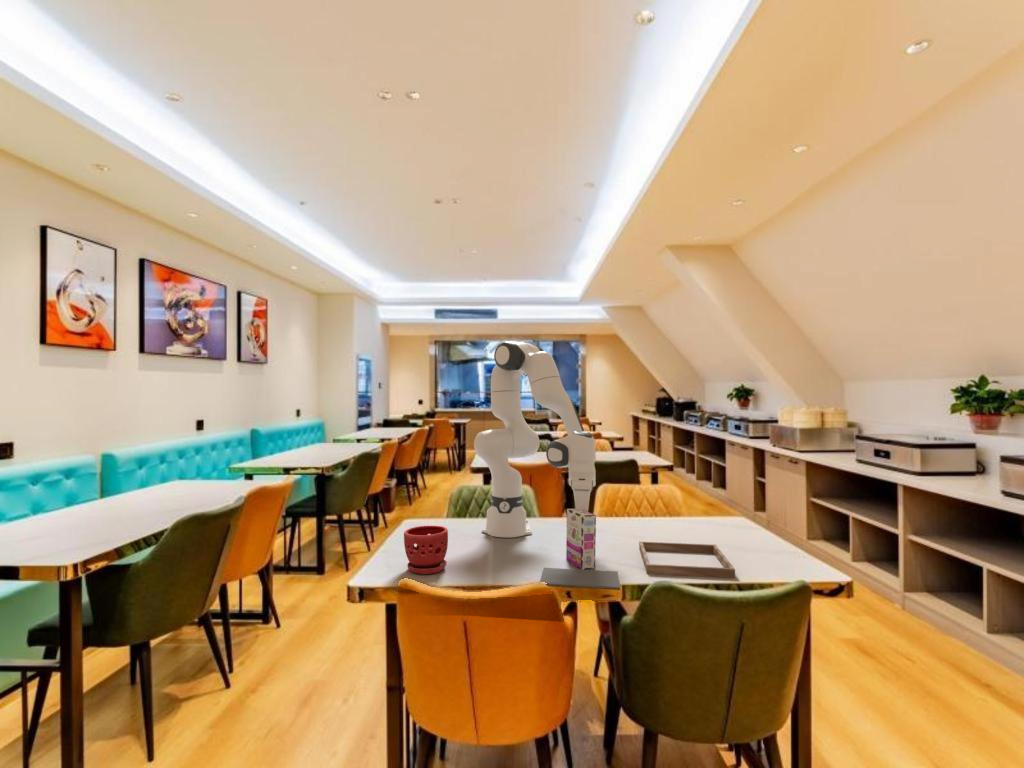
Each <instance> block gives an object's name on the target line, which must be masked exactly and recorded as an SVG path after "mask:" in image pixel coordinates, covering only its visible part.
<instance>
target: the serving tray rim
mask: <svg viewBox="0 0 1024 768" xmlns="http://www.w3.org/2000/svg"><path fill="white" fill-rule="evenodd" d="M638 542H639V543H638V546H639V547H638V550H639V553H640V555H641V559H642V563H643V565H644V566H643V567H644V568H645V572H646V574H649V575H651V574H652V575H666V574H672V575H671V576H685V577H686V576H687V577H689V576H690V577H705V578H707V577H708V578H727V579H729V578H730V579H735V578H736V568H735V567H734V566H733V565H732V563H731V562H729V560H728V558H727V557H726V556H725V555H724V553H723V552H722V551H721V549H719V547H718V546H717V544H709V543H708V544H706V543H705V544H703V543H684V542H683V543H682V542H681V543H680V542H660V541H658V542H657V541H638ZM646 551H660V552H662V551H664V552H678V553H679V552H681V553H683V552H685V553H700V554H701V553H702V554H703V553H705V554H706V553H707V554H713V555H714V556H715V558H716V559H717V561H718V562H719V563H720V565H721V566H722V567H715V566H696V565H695V566H694V565H692V566H691V565H674V564H654V563H653V564H652V563H650V560H649V557H648V555H647V552H646Z"/></svg>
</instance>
